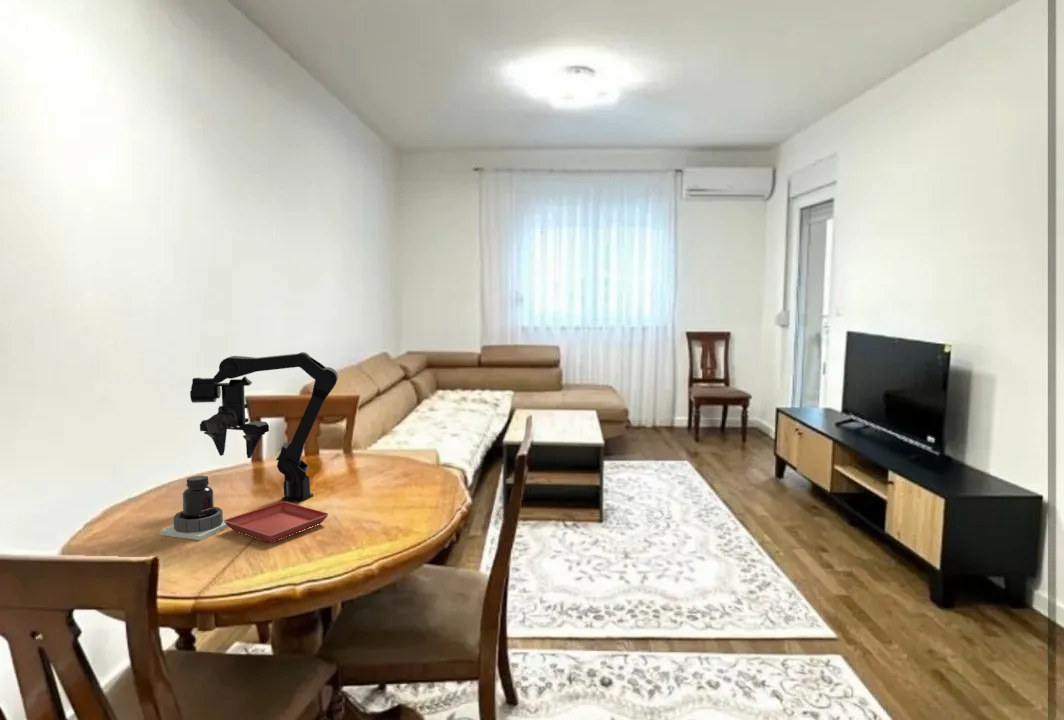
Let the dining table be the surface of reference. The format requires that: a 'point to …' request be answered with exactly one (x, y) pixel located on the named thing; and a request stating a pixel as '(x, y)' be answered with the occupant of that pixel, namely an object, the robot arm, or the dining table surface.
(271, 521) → the plant saucer
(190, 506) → the supplement bottle
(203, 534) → the board
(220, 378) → the robot arm
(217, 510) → the collar
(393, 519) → the dining table surface
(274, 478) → the dining table surface
